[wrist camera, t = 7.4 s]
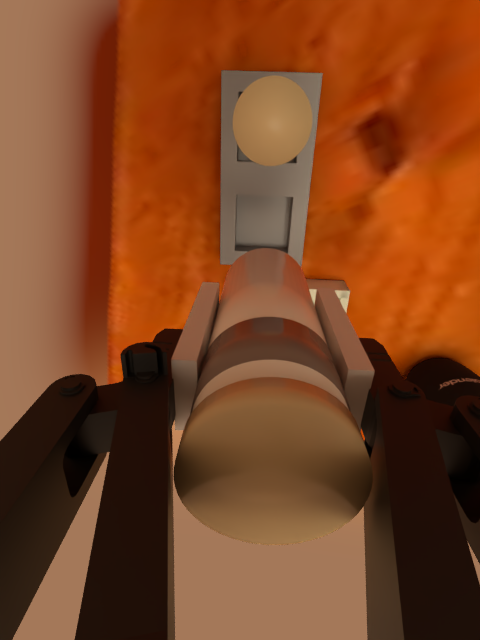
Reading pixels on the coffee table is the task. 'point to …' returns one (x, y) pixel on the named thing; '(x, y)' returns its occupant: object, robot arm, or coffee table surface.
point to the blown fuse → (271, 416)
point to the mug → (444, 380)
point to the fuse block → (266, 160)
